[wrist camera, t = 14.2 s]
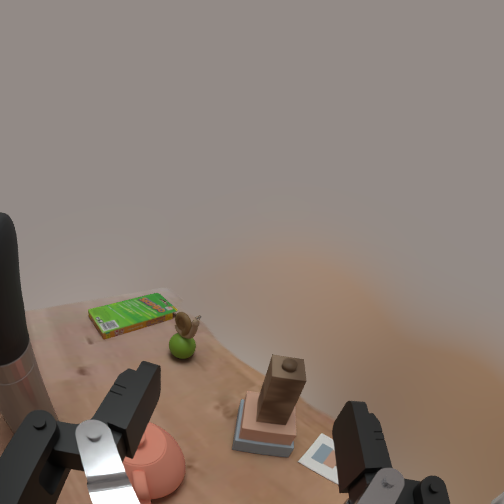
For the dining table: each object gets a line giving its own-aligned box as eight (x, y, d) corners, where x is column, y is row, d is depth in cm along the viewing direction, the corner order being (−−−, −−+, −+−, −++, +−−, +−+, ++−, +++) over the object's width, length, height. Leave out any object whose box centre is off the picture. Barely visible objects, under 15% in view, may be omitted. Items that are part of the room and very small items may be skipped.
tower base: (231, 449, 38) (238, 429, 36) (238, 409, 46) (244, 388, 44) (288, 457, 38) (299, 438, 36) (288, 417, 46) (297, 396, 44)
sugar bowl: (179, 437, 38) (180, 399, 35) (194, 514, 26) (198, 491, 22) (102, 434, 34) (90, 393, 31) (102, 511, 22) (82, 485, 18)
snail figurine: (183, 370, 53) (188, 321, 49) (163, 353, 56) (165, 304, 52) (203, 359, 57) (210, 312, 53) (182, 344, 60) (186, 297, 56)
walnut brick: (256, 421, 38) (273, 371, 34) (257, 400, 42) (273, 350, 39) (285, 425, 38) (308, 376, 34) (285, 404, 42) (305, 355, 39)
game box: (89, 319, 61) (158, 298, 76) (104, 343, 55) (179, 317, 70) (87, 309, 60) (158, 288, 75) (102, 333, 54) (179, 307, 69)
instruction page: (297, 461, 37) (298, 461, 37) (321, 433, 43) (321, 432, 43) (348, 490, 32) (349, 489, 31) (367, 458, 38) (368, 457, 38)
